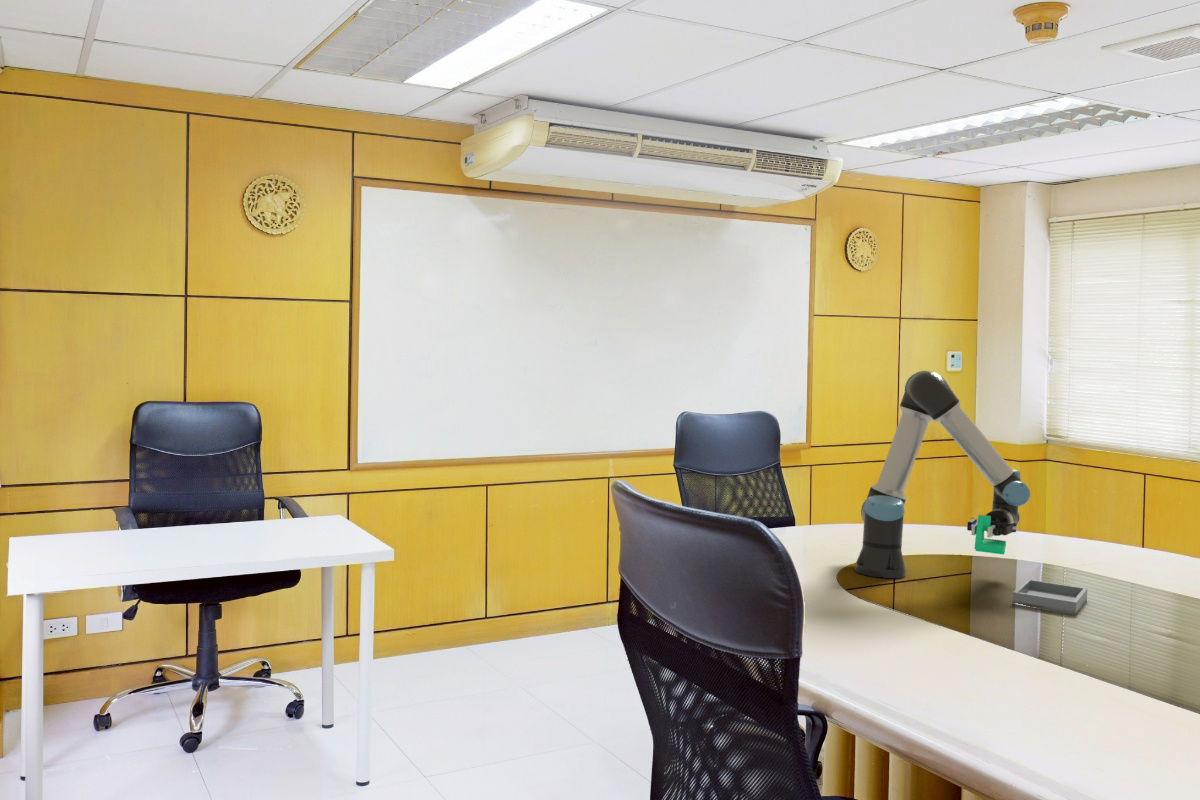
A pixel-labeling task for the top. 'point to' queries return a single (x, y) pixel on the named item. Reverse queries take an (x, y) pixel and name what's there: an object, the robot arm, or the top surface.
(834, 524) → the top surface
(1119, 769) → the top surface
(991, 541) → the camera mount
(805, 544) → the top surface
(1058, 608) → the tray
